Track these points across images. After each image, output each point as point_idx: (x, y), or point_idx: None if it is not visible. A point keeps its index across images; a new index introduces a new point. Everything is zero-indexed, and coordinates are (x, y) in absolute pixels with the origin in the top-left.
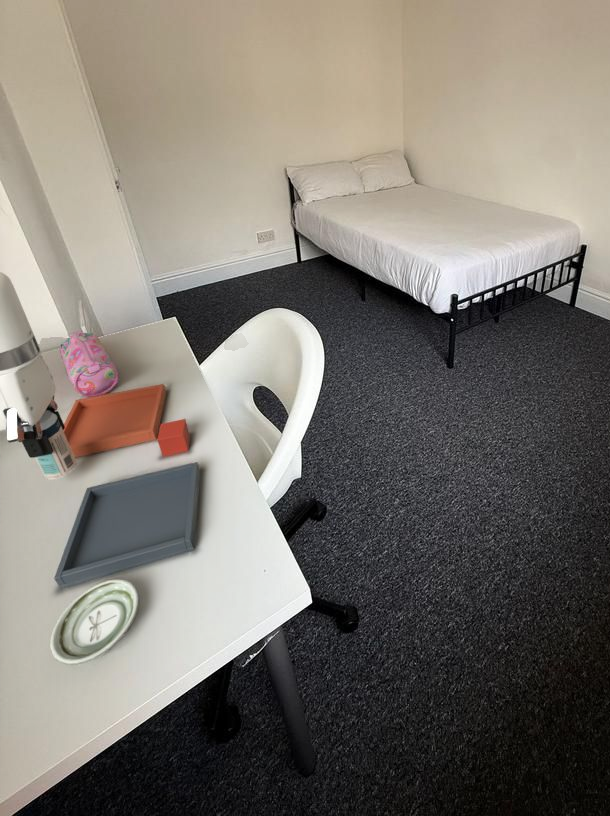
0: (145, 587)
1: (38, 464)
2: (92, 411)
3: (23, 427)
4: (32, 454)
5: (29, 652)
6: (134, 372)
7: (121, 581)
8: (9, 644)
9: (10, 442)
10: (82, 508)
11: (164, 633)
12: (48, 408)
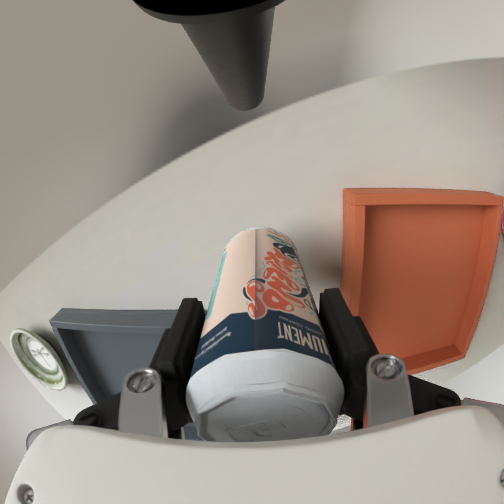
0: (78, 382)
1: (236, 250)
2: (470, 226)
3: (165, 431)
4: (165, 332)
5: (19, 296)
6: None
7: (64, 380)
8: (20, 274)
9: (37, 430)
10: (146, 331)
11: (55, 390)
12: (359, 417)
